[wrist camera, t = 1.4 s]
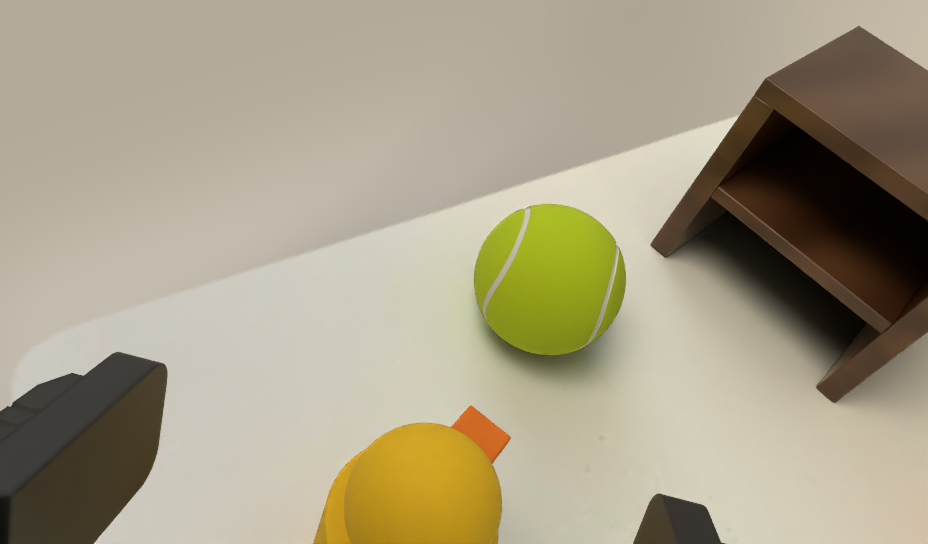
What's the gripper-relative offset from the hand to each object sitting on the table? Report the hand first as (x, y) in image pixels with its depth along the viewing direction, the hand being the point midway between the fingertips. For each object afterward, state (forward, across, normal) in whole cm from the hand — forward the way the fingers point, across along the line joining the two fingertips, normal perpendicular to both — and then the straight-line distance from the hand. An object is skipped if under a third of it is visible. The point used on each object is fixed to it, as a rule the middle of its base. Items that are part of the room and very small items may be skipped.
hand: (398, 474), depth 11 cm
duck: (+11, 0, +13) cm, 17 cm away
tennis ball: (+24, -4, +6) cm, 25 cm away
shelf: (+33, -20, +2) cm, 38 cm away
